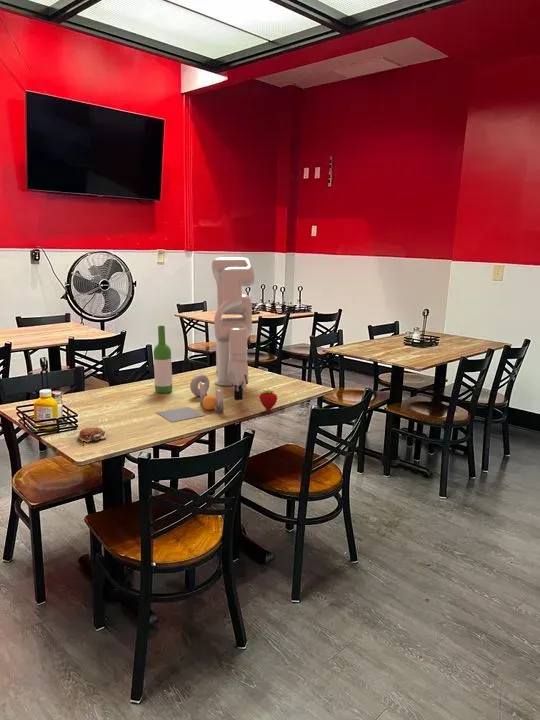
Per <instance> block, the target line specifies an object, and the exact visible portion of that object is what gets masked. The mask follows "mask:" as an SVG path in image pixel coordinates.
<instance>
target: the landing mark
mask: <svg viewBox="0 0 540 720" xmlns="http://www.w3.org/2000/svg"><path fill="white" fill-rule="evenodd" d="M156 414H158V415H159V416H161V417H162V418H164V419H166V420H167V421H169V422H171V423H175V422H180V421H185V420H191V419H195V418H200V417H205V416H206V415H205V414H204V413H201V412H200V411H197V410H195V409H194V408H192V407H190V406H186V407H185V406H183V407H179V408H175V409H174V408H173V409H169V410H162V411H157V412H156Z"/></svg>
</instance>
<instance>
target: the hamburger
mask: <svg viewBox="0 0 540 720" xmlns="http://www.w3.org/2000/svg"><path fill="white" fill-rule="evenodd" d="M77 435H78V436H77V439H79V440H81V441H82V442H83V441H86V442H87V443H90V442H95V441H99V439H101V440H103V439H104V438H105V437H106V438H107V436H106V431H104V430H103V429H102V428H101V427H99V426H98V427H97V426H96V427H85V428H82V429H81V430H80V431H79V433H78V434H77ZM92 440H93V441H92ZM94 440H95V441H94Z"/></svg>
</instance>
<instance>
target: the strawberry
mask: <svg viewBox="0 0 540 720" xmlns="http://www.w3.org/2000/svg"><path fill="white" fill-rule="evenodd" d="M262 391H263V392H261V393H260V394H259V401H260V403H261V405H262V406H263V408H265V410H266V411H267V412H269V411H271V410H272V409H273V407H274V406H275V405H276V404H277V401H278V396H277V394H275V391H273V390H270V389H269V390H268V389H266V390H262Z"/></svg>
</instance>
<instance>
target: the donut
mask: <svg viewBox="0 0 540 720" xmlns="http://www.w3.org/2000/svg"><path fill="white" fill-rule="evenodd" d="M200 383H207V392H208V391H209V388H210V380H209V377H207V375H206V374H204V373H198V374H196V375H194V376H193V377H192V379H191V381H190V385H189V387H190V392H191V393H192V394H193V396H195V397H200V387H199V385H200Z"/></svg>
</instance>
